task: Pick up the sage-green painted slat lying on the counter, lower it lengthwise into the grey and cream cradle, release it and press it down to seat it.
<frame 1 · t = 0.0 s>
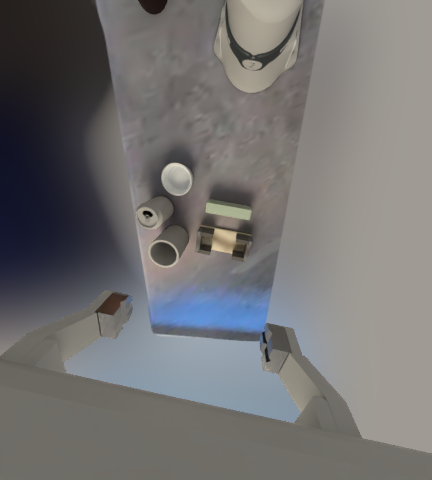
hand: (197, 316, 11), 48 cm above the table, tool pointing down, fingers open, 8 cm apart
slat: (228, 207, 57), on the table
ramekin: (180, 178, 55), on the table
grey and cream cradle: (223, 240, 61), on the table
cup: (176, 237, 63), on the table
can: (163, 207, 59), on the table
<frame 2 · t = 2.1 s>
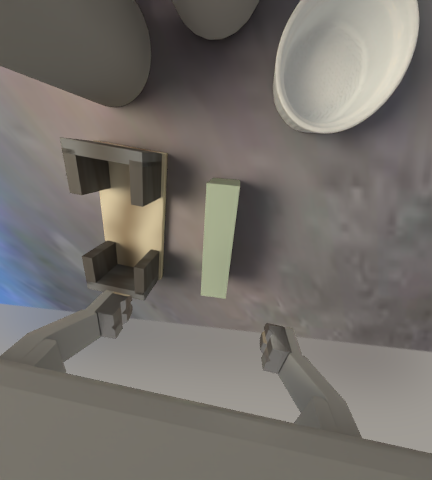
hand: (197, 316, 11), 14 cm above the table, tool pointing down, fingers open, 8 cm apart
slat: (221, 231, 23), on the table
ramekin: (317, 83, 16), on the table
grey and cream cradle: (135, 218, 24), on the table
cup: (105, 48, 17), on the table
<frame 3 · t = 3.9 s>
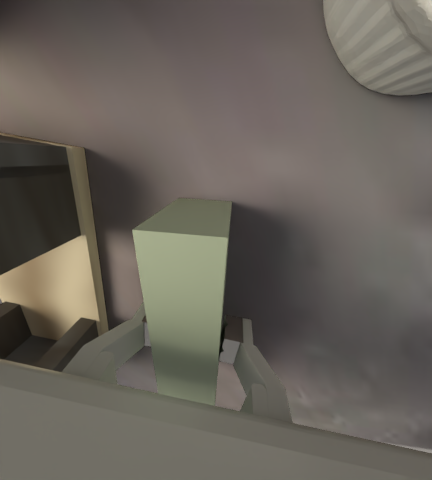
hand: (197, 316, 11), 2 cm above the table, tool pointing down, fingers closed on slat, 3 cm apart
slat: (203, 291, 13), on the table, touching gripper
grey and cream cradle: (49, 266, 13), on the table
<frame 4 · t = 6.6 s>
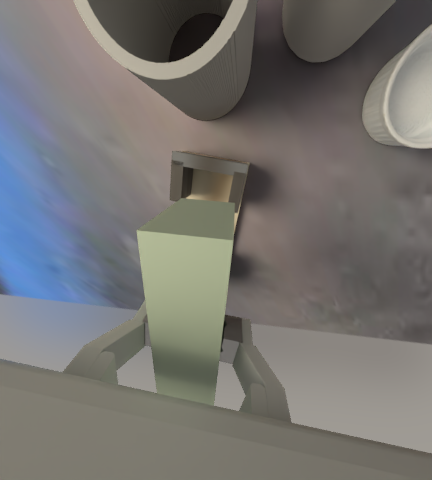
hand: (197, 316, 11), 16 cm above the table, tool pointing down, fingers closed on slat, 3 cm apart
slat: (203, 292, 13), point 14 cm above the table, touching gripper
ramekin: (404, 100, 18), on the table
grey and cream cradle: (207, 222, 25), on the table
cup: (205, 68, 19), on the table
can: (323, 12, 16), on the table
when the fingers open (4 cm above the table, at t = 9.3 s): slat stays where it is, resting on grey and cream cradle.
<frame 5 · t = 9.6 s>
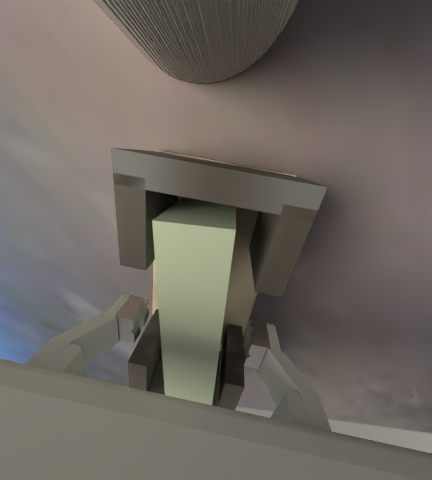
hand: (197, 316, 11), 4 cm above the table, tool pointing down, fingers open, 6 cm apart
slat: (205, 283, 14), point 1 cm above the table, touching grey and cream cradle
grey and cream cradle: (206, 277, 14), on the table
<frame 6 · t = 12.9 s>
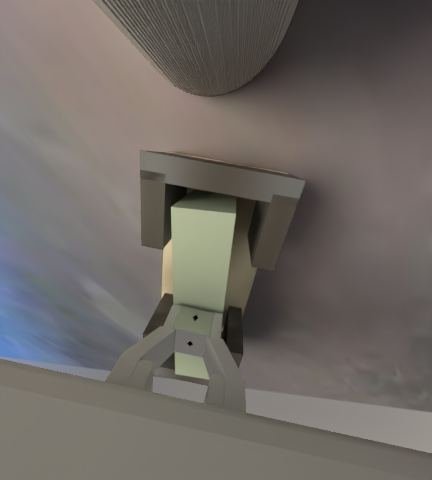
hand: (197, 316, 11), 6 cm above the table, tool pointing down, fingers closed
slat: (209, 268, 15), point 1 cm above the table, touching grey and cream cradle
grey and cream cradle: (209, 263, 16), on the table
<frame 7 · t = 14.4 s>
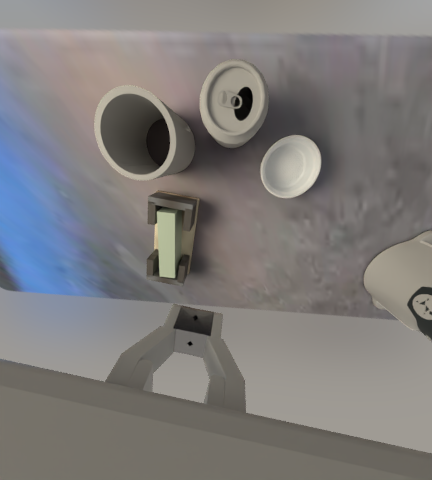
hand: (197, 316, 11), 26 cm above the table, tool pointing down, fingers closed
slat: (174, 236, 37), point 1 cm above the table, touching grey and cream cradle
ramekin: (282, 167, 31), on the table
grey and cream cradle: (175, 235, 38), on the table
cup: (169, 145, 31), on the table
can: (232, 122, 29), on the table
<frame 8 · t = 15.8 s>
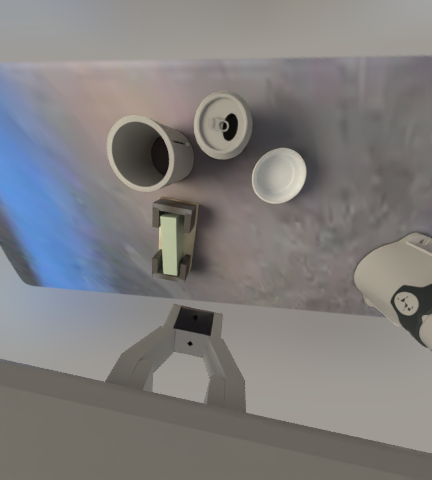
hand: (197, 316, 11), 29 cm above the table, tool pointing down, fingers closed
slat: (176, 238, 41), point 1 cm above the table, touching grey and cream cradle
ramekin: (273, 175, 34), on the table
grey and cream cradle: (177, 236, 41), on the table
cup: (171, 156, 35), on the table
can: (226, 136, 32), on the table
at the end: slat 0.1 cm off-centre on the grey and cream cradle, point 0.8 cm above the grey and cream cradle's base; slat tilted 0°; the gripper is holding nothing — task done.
